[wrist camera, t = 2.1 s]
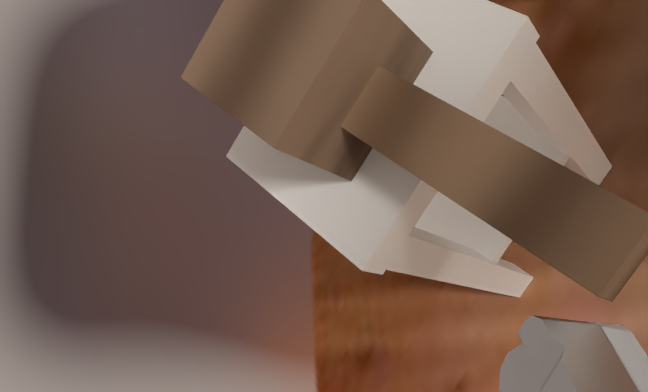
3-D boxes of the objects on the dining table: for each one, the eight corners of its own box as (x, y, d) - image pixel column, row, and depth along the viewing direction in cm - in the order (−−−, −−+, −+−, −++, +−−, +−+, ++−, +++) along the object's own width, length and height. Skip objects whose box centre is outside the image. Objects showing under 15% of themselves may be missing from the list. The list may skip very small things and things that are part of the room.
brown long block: (699, 182, 20) (693, 131, 15) (579, 346, 21) (536, 349, 16) (331, 2, 31) (258, -62, 26) (263, 117, 32) (180, 77, 27)
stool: (616, 165, 46) (527, 16, 25) (520, 301, 48) (361, 270, 27) (500, 106, 52) (350, -55, 31) (419, 228, 54) (225, 156, 33)
